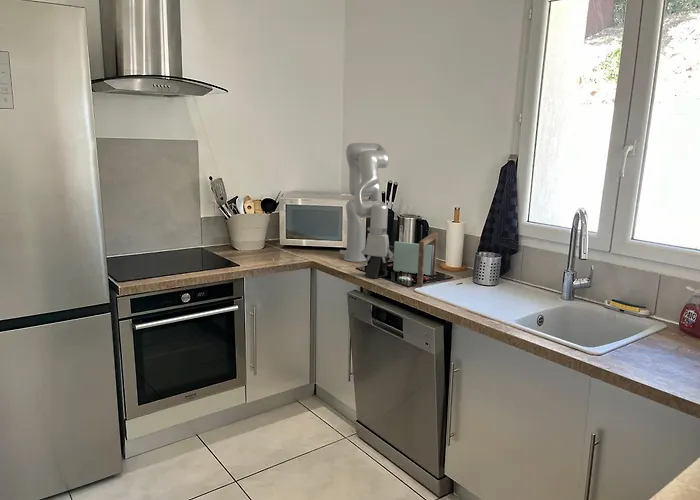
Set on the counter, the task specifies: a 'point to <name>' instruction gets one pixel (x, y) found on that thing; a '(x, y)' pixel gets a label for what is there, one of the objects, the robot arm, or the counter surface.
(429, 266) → the door
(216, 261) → the counter surface
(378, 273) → the door stopper
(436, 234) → the door frame
